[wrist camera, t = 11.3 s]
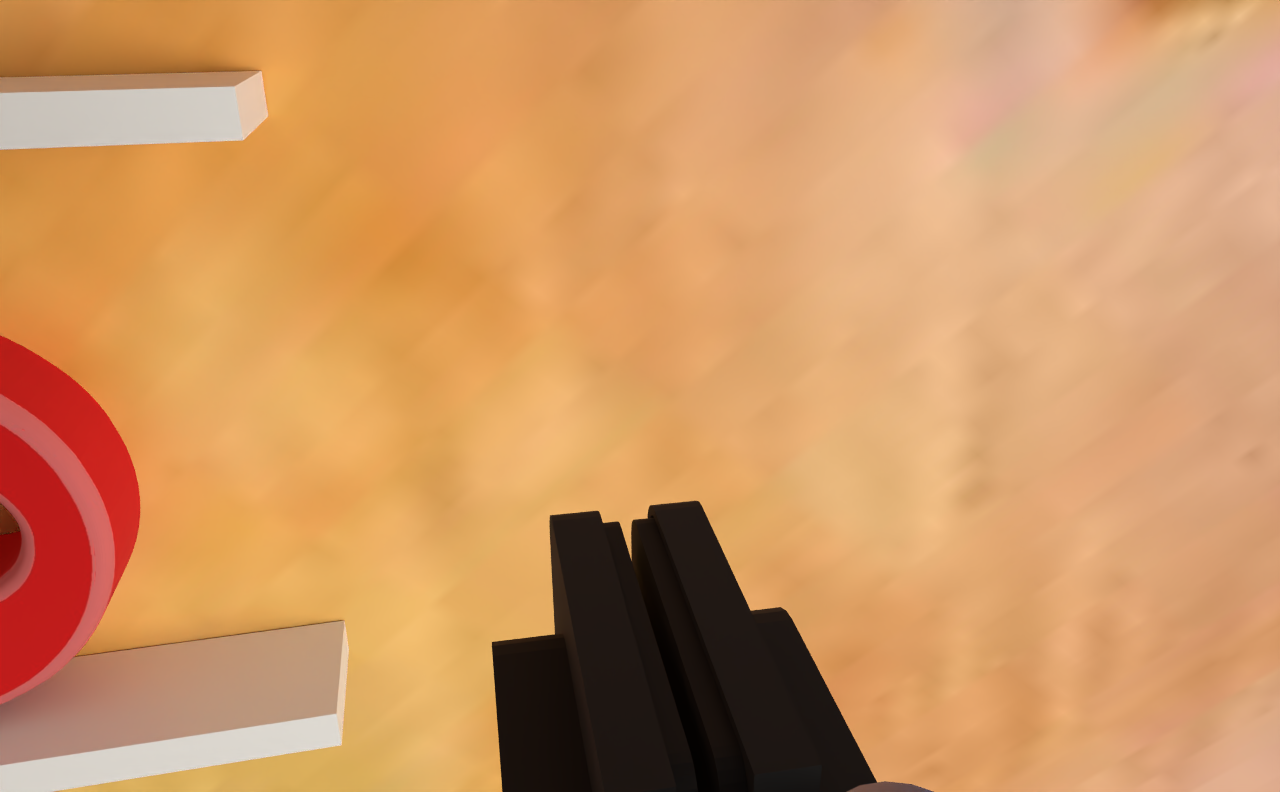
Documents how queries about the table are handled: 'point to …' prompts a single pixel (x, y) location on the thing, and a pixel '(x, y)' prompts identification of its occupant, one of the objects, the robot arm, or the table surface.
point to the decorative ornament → (57, 517)
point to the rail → (189, 671)
